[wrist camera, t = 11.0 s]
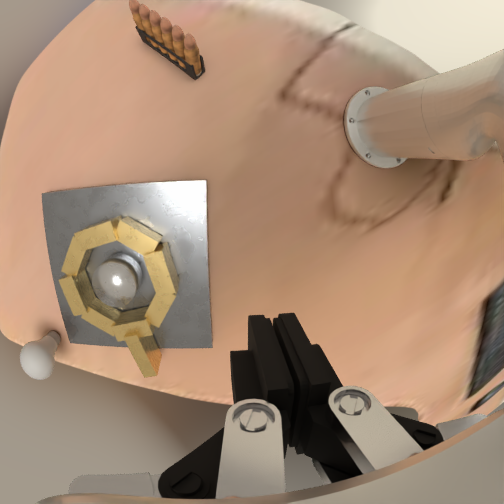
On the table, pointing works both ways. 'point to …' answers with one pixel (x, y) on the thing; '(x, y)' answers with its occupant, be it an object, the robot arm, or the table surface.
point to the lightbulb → (40, 356)
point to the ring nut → (106, 317)
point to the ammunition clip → (167, 39)
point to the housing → (136, 256)
